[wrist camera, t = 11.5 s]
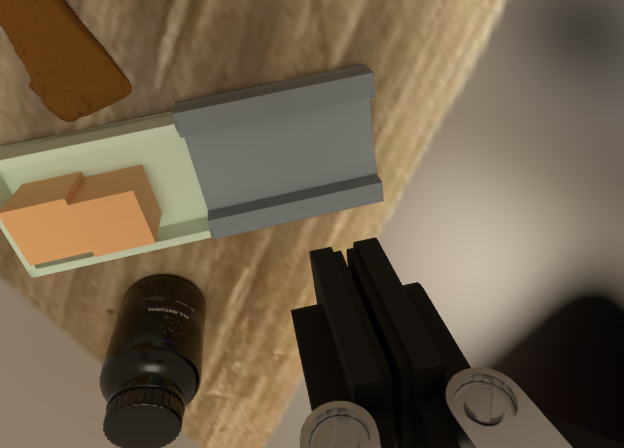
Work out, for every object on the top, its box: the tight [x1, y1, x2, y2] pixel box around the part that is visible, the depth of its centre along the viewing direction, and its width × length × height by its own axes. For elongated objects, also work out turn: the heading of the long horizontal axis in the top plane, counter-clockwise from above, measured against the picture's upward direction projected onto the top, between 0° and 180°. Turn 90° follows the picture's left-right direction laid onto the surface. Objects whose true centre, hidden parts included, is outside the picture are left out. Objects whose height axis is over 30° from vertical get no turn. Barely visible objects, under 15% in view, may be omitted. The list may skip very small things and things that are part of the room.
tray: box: [0, 111, 212, 278], centre depth 31 cm, size 9×13×3 cm, turn 99°
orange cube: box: [68, 165, 162, 257], centre depth 31 cm, size 4×4×4 cm
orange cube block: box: [0, 171, 92, 266], centre depth 30 cm, size 4×4×4 cm
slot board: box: [172, 64, 384, 239], centre depth 32 cm, size 10×13×2 cm
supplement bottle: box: [99, 276, 205, 448], centre depth 34 cm, size 7×7×12 cm
